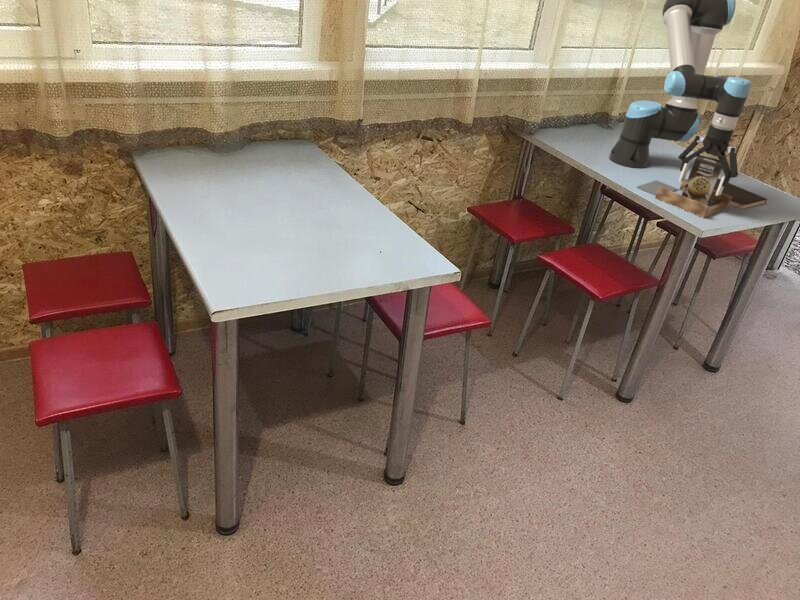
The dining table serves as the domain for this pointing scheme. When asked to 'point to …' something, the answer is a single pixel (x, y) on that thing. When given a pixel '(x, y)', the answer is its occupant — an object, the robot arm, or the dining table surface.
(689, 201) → the shelf lane
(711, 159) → the coffee box
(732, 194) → the hardcover book
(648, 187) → the mat
